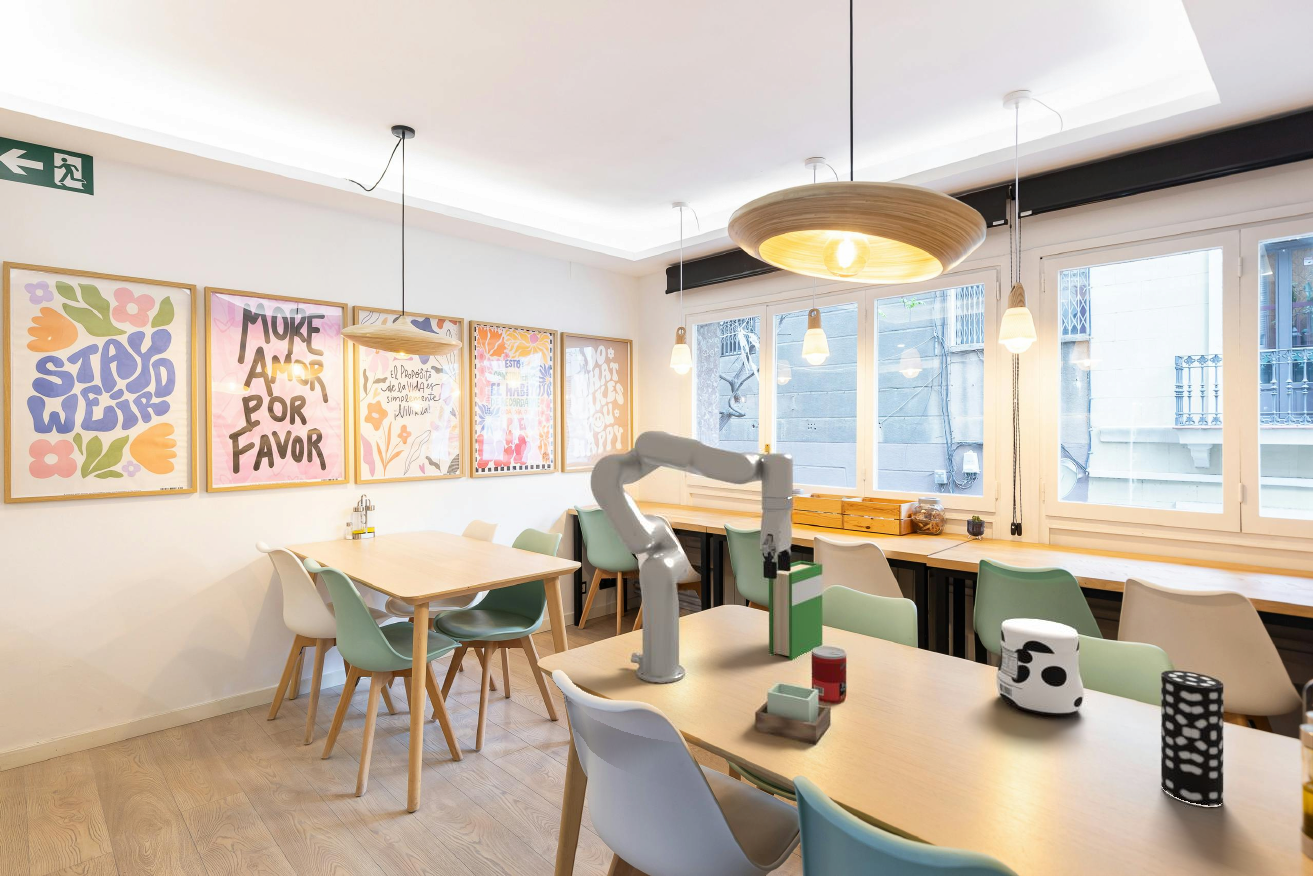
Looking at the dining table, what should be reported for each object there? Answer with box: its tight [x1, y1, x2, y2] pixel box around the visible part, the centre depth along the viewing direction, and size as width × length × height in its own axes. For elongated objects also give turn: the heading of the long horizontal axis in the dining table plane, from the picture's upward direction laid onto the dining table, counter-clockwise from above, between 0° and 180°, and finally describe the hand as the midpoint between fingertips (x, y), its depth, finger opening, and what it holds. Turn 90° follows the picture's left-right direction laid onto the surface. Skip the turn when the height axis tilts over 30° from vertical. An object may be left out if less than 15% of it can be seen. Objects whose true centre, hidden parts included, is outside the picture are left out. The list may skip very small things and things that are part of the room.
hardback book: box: [768, 560, 823, 661], centre depth 192 cm, size 18×7×24 cm, turn 139°
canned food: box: [811, 645, 847, 704], centre depth 157 cm, size 8×8×11 cm
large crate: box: [754, 701, 832, 746], centre depth 141 cm, size 13×10×4 cm
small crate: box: [766, 681, 819, 723], centre depth 141 cm, size 9×6×7 cm
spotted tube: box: [1160, 669, 1224, 806], centre depth 114 cm, size 8×8×20 cm
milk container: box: [995, 618, 1085, 716], centre depth 152 cm, size 17×17×18 cm
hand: (777, 574), depth 161 cm, fingers open, 9 cm apart
